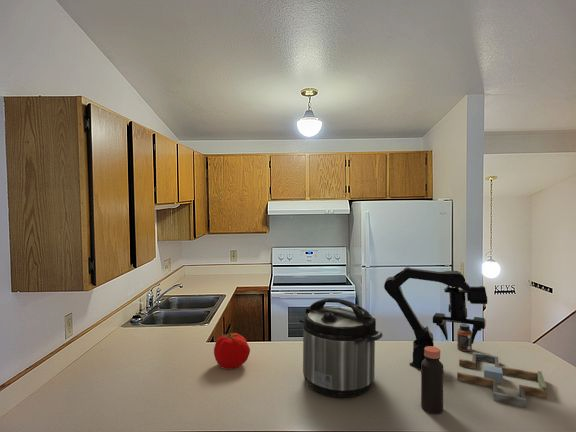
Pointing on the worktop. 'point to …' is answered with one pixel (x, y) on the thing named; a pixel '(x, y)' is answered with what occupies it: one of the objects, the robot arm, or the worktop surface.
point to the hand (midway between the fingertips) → (459, 341)
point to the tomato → (231, 351)
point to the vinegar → (432, 381)
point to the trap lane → (507, 371)
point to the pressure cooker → (339, 348)
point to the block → (493, 373)
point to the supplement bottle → (464, 338)
